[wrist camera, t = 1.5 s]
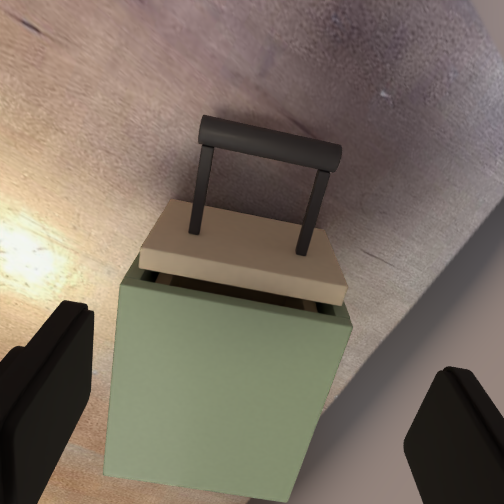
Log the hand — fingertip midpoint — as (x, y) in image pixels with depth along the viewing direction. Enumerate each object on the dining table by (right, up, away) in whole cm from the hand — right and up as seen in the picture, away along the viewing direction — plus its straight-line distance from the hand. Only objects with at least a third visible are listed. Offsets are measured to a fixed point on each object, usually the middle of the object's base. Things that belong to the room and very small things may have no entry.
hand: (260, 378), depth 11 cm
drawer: (-1, +3, +17) cm, 18 cm away
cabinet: (-2, -1, +20) cm, 21 cm away
